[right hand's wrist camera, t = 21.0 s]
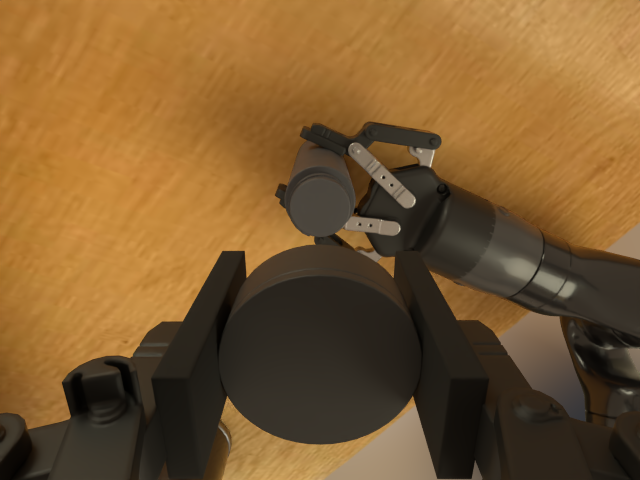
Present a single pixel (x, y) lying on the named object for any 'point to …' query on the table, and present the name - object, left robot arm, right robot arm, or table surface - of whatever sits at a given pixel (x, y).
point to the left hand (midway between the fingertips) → (290, 160)
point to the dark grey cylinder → (319, 191)
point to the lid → (320, 346)
